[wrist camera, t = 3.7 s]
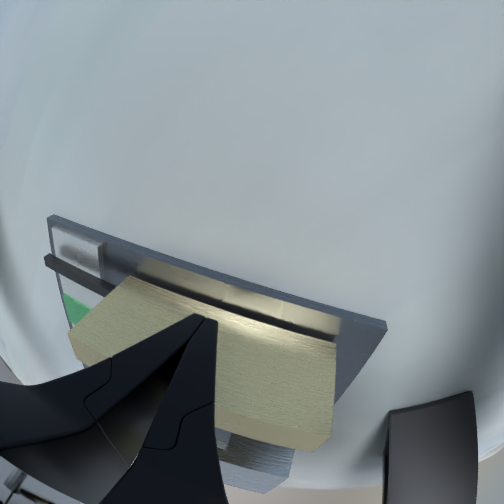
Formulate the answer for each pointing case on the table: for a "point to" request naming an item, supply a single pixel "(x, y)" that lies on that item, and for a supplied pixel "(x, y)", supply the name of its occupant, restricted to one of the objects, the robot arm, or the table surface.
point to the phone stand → (432, 453)
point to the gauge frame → (226, 298)
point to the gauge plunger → (220, 358)
